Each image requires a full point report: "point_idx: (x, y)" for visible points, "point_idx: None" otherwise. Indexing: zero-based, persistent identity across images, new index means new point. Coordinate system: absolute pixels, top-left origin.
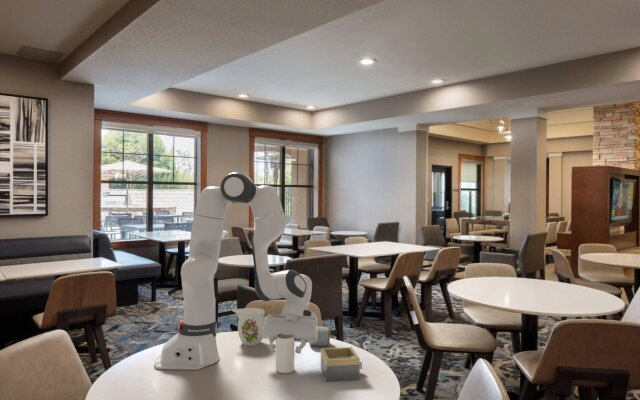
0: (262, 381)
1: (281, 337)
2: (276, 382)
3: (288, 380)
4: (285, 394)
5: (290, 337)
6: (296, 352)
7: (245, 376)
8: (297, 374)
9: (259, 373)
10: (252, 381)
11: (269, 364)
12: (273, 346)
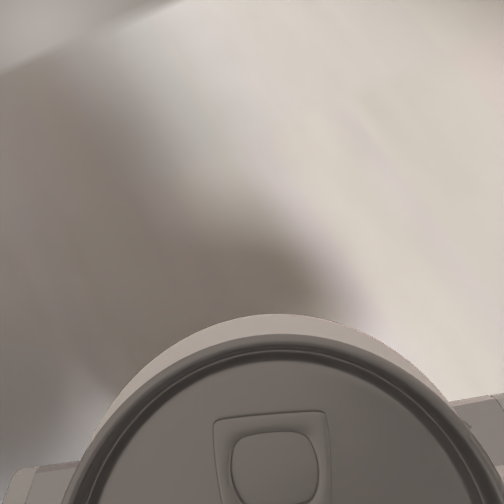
0: (320, 146)
1: (324, 425)
2: (214, 174)
3: (144, 244)
4: (69, 43)
5: (69, 490)
6: None
7: (495, 167)
8: None
9: (433, 264)
10: (388, 116)
11: None
12: (473, 430)
